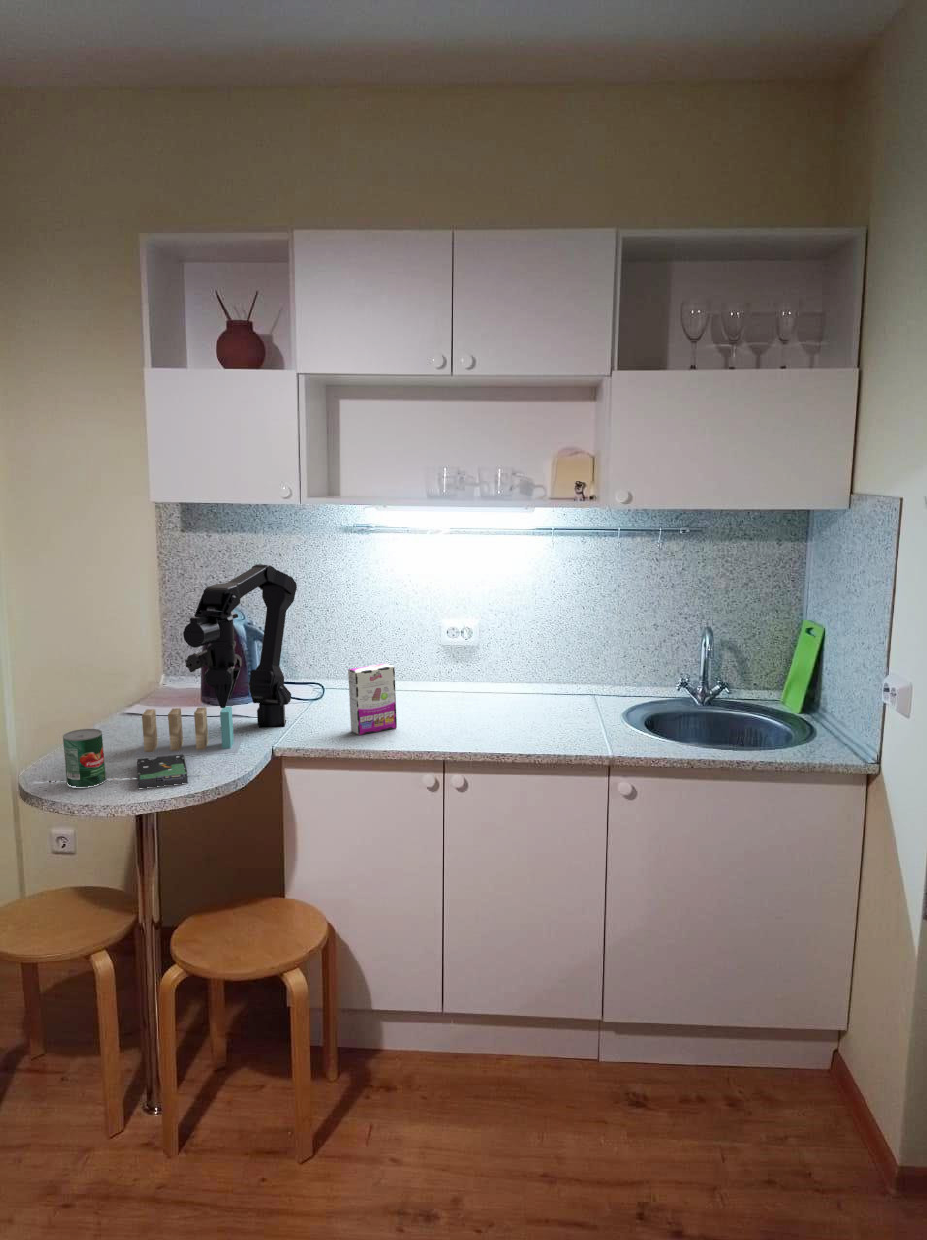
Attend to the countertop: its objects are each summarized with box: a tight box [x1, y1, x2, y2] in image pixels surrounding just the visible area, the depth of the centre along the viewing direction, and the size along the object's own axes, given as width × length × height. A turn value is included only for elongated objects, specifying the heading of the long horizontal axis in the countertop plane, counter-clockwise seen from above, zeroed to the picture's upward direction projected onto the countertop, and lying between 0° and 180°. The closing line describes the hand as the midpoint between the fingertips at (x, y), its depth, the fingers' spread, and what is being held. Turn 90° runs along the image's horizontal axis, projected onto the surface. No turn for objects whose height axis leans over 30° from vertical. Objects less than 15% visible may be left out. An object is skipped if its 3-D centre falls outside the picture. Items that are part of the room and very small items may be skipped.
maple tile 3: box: [167, 707, 184, 751], centre depth 223 cm, size 2×5×9 cm, turn 6°
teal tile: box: [219, 705, 235, 749], centre depth 224 cm, size 2×5×9 cm, turn 6°
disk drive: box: [136, 754, 189, 788], centre depth 206 cm, size 10×3×15 cm
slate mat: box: [132, 737, 244, 758], centre depth 224 cm, size 24×12×1 cm, turn 96°
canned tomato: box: [62, 728, 107, 787], centre depth 201 cm, size 8×8×11 cm
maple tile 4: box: [141, 708, 159, 752], centre depth 223 cm, size 2×5×9 cm, turn 6°
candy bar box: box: [347, 663, 398, 736], centre depth 237 cm, size 11×5×16 cm, turn 123°
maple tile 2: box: [193, 706, 209, 750], centre depth 224 cm, size 2×5×9 cm, turn 6°
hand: (225, 703), depth 223 cm, fingers open, 8 cm apart
